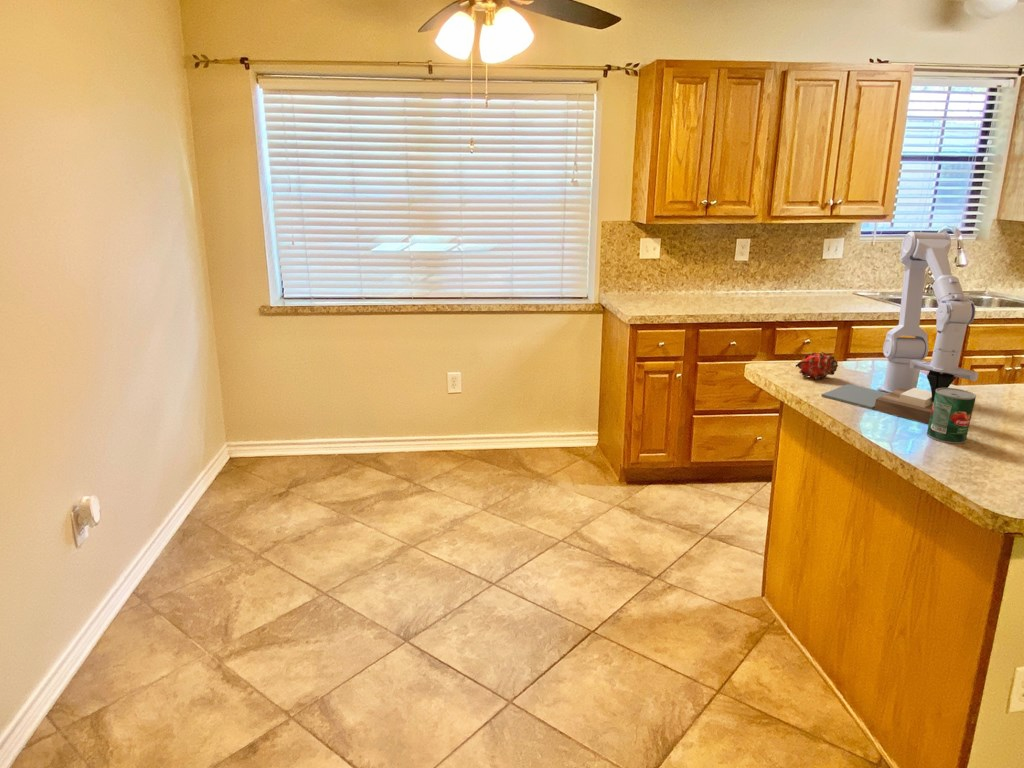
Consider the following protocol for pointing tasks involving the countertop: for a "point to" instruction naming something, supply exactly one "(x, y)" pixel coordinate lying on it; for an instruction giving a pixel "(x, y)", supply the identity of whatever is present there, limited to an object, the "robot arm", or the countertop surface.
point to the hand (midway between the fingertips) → (936, 401)
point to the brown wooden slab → (902, 407)
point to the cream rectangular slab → (917, 397)
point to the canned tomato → (951, 415)
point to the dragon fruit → (817, 365)
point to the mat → (855, 395)
